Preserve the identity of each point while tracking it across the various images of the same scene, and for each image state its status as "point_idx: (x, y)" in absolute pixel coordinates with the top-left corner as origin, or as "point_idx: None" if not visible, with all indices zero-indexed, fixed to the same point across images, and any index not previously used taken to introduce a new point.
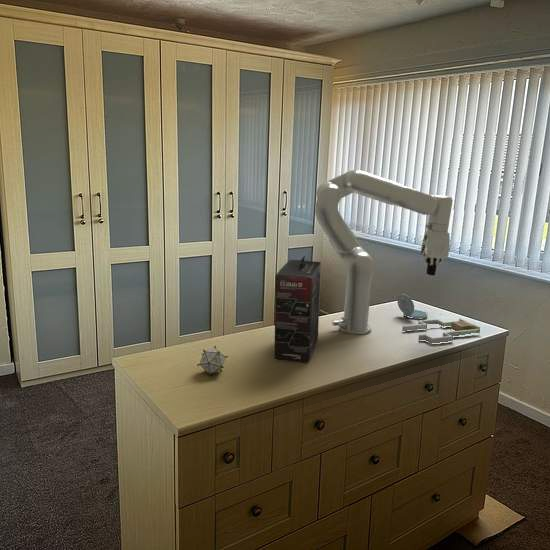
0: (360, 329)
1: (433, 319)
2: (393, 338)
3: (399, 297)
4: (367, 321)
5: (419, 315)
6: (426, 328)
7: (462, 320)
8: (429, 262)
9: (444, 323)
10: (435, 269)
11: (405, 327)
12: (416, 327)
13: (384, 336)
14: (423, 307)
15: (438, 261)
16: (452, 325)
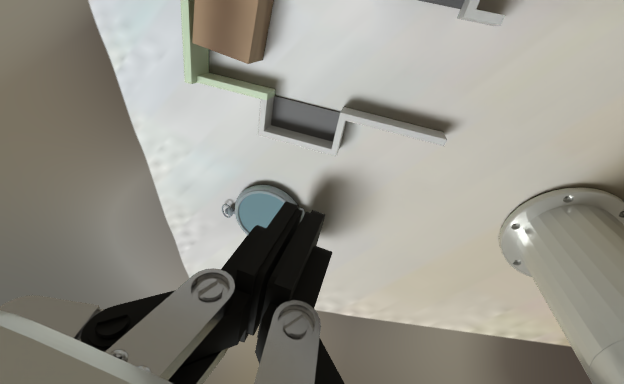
0: (601, 210)
1: (273, 139)
2: (545, 102)
3: None
4: (570, 224)
5: (269, 200)
6: (343, 108)
7: (192, 63)
8: (316, 361)
9: (264, 92)
10: (263, 236)
11: (437, 136)
12: (387, 121)
13: (550, 136)
14: (194, 244)
15: (167, 311)
16: (255, 56)
